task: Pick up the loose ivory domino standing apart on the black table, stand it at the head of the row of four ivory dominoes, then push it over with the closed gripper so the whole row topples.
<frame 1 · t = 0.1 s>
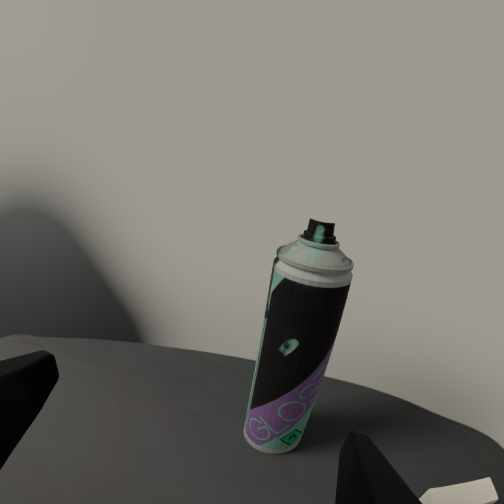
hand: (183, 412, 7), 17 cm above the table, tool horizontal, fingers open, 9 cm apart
spray can: (272, 434, 26), on the table
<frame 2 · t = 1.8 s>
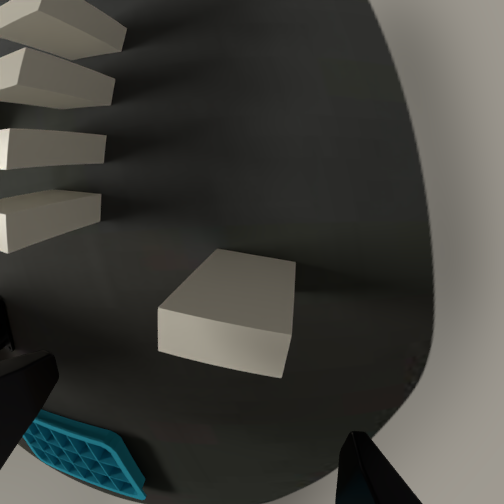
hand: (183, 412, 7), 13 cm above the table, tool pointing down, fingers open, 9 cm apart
ice cube tray: (78, 440, 30), on the table
domino 1: (253, 270, 20), on the table
domino 4: (86, 94, 18), on the table
domino 3: (79, 149, 19), on the table
domino 5: (97, 44, 17), on the table
domino 2: (75, 204, 21), on the table
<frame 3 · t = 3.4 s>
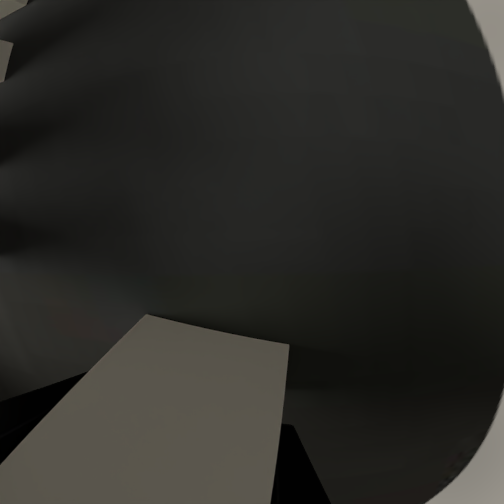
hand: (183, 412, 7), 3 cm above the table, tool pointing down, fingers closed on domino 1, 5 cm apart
domino 1: (212, 354, 10), on the table, touching gripper
domino 5: (5, 4, 8), on the table
when the fingers open (4 cm above the table, at t = 7.3 s): domino 1 moves 2 cm and tips over, point 1 cm above the table.
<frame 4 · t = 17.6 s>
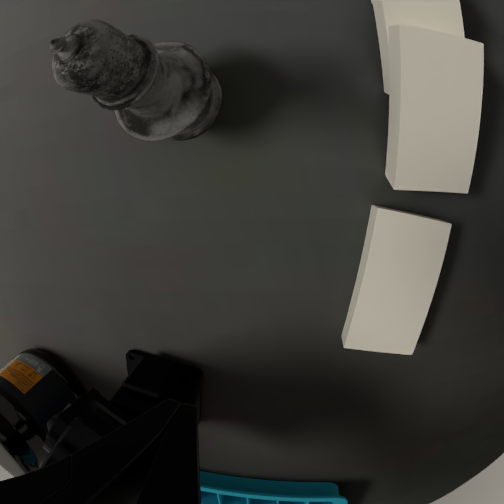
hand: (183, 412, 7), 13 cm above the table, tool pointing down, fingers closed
supplement container: (57, 384, 27), on the table
chess piece: (183, 101, 18), on the table
ice cube tray: (252, 495, 28), on the table
domino 1: (376, 344, 19), point 1 cm above the table, tilted 90°
domino 3: (426, 95, 14), point 1 cm above the table, tilted 68°, touching domino 2
domino 2: (427, 183, 16), point 1 cm above the table, tilted 68°, touching domino 3
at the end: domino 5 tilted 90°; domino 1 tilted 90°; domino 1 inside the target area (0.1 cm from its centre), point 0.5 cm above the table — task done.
